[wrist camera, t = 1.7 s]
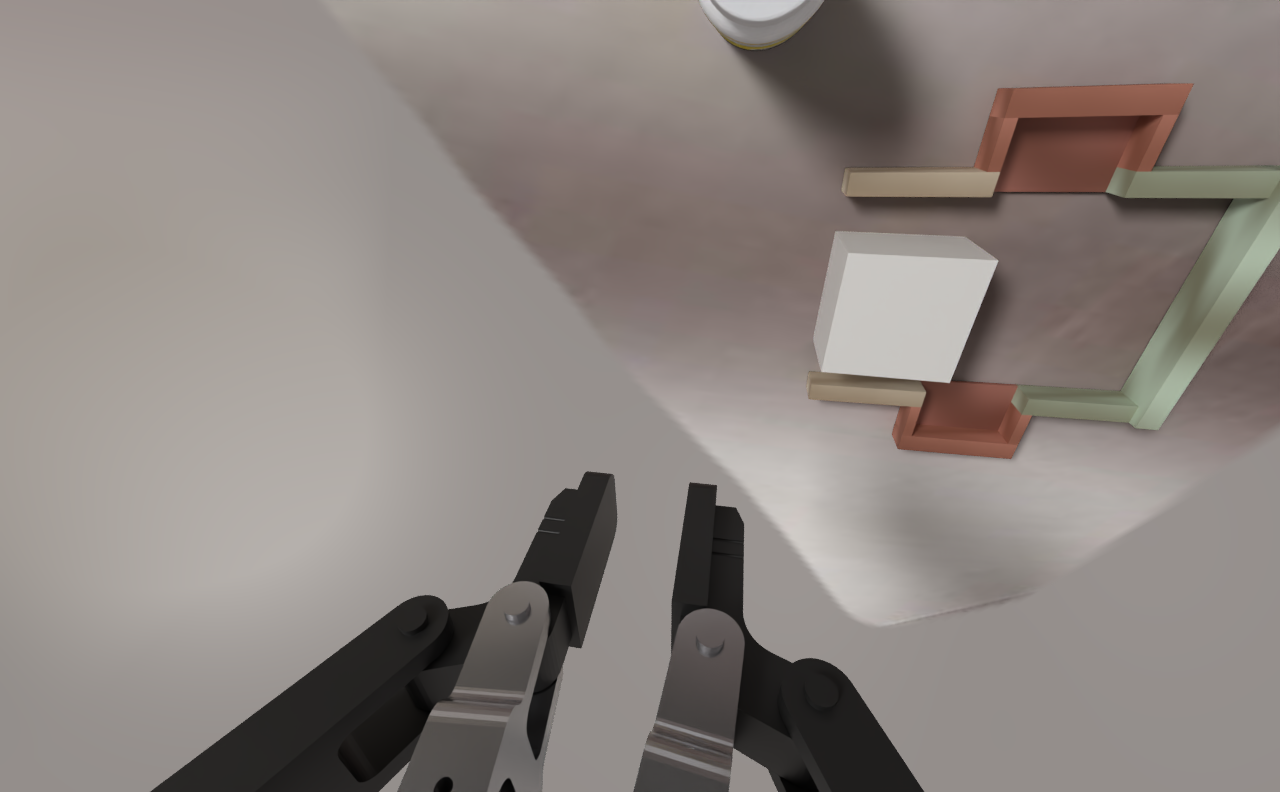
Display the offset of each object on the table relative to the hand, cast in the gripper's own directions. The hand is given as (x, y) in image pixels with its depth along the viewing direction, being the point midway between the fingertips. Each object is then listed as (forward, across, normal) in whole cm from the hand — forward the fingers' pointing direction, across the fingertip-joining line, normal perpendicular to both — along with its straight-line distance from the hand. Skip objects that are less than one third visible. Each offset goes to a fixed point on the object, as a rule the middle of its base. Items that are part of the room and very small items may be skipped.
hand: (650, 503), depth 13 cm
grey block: (+17, -10, 0) cm, 20 cm away
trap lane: (+17, -15, 0) cm, 23 cm away
